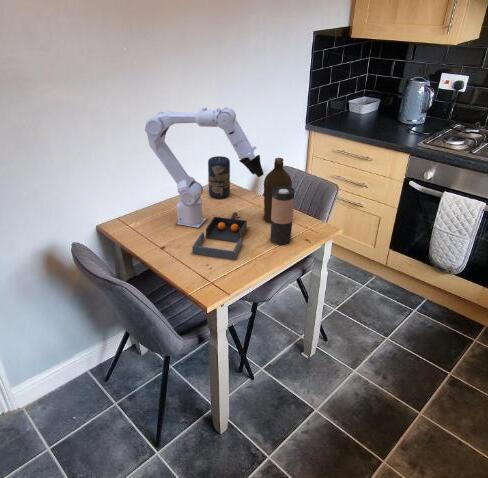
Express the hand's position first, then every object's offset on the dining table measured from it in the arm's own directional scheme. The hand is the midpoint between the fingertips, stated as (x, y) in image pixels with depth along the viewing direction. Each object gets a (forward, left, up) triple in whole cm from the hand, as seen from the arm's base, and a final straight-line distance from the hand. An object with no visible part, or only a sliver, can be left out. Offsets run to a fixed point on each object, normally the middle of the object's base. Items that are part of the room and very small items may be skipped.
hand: (258, 174), depth 155 cm
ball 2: (-7, -5, -20) cm, 22 cm away
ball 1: (-12, -6, -20) cm, 24 cm away
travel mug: (+11, -5, -22) cm, 25 cm away
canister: (-25, +25, -22) cm, 42 cm away
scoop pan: (-10, -3, -22) cm, 25 cm away
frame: (-9, -19, -22) cm, 30 cm away
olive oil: (+5, +11, -22) cm, 25 cm away
